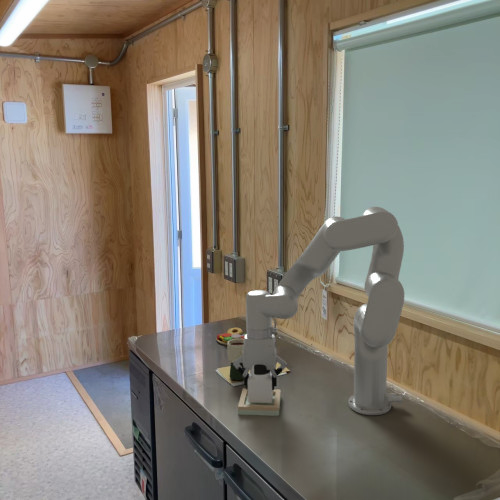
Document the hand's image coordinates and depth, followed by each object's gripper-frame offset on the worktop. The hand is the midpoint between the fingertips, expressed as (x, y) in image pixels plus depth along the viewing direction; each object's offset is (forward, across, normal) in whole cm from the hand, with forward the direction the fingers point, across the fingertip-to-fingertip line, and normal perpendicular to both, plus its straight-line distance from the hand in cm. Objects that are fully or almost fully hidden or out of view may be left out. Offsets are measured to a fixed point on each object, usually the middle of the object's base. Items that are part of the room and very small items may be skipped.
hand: (260, 387), depth 159 cm
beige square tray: (+6, 0, 0) cm, 6 cm away
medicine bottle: (+4, 0, 0) cm, 4 cm away
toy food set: (+6, +16, -55) cm, 58 cm away
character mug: (+6, +9, -19) cm, 22 cm away
